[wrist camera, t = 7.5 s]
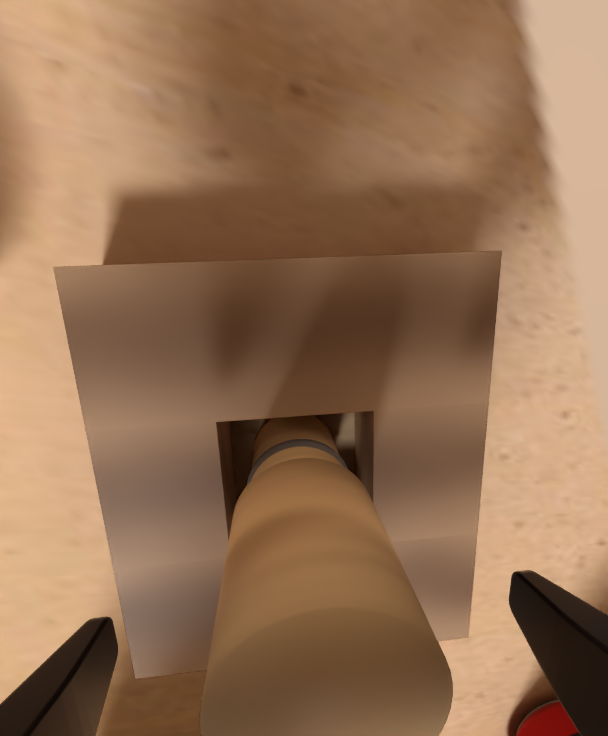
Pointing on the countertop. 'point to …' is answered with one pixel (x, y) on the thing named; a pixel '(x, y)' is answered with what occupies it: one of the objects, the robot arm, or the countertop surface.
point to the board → (279, 414)
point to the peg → (317, 607)
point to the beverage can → (547, 721)
